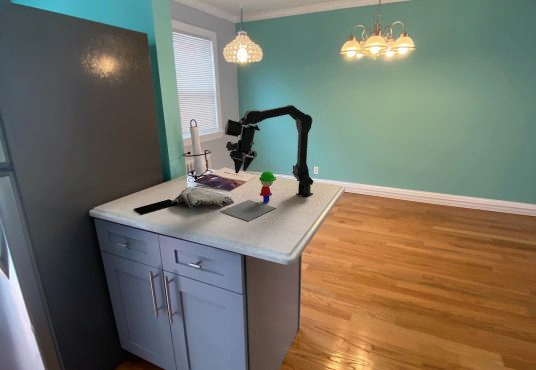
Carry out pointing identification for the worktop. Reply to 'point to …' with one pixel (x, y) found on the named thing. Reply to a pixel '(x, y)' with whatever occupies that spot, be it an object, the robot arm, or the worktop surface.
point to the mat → (248, 210)
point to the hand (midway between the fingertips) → (240, 172)
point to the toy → (266, 185)
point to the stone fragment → (202, 197)
